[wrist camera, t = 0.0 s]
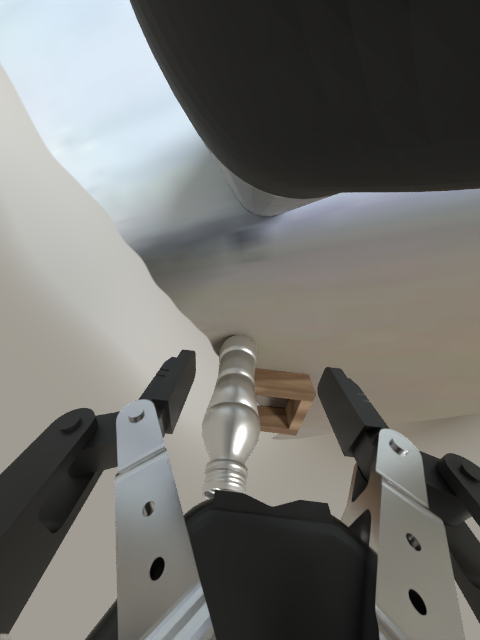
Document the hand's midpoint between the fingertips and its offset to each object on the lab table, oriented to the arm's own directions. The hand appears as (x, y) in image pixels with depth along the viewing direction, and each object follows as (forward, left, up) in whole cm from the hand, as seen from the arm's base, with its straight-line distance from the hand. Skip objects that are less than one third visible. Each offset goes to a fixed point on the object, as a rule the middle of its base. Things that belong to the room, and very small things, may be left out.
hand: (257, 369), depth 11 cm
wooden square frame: (+24, +6, -17) cm, 30 cm away
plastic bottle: (+12, -1, -17) cm, 21 cm away
